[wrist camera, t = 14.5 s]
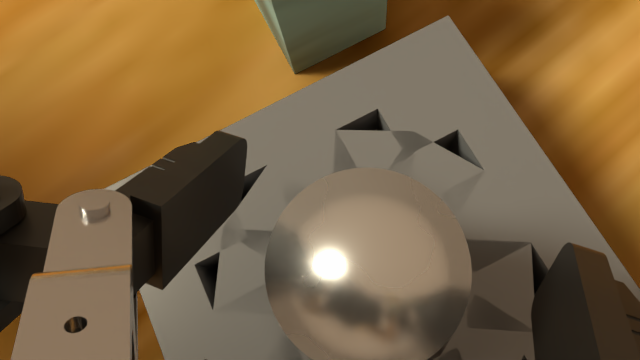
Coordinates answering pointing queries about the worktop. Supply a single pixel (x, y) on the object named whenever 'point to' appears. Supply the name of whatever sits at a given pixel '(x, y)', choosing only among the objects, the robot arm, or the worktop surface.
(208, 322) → the socket block
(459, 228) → the steel peg
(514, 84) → the worktop surface
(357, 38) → the square peg
